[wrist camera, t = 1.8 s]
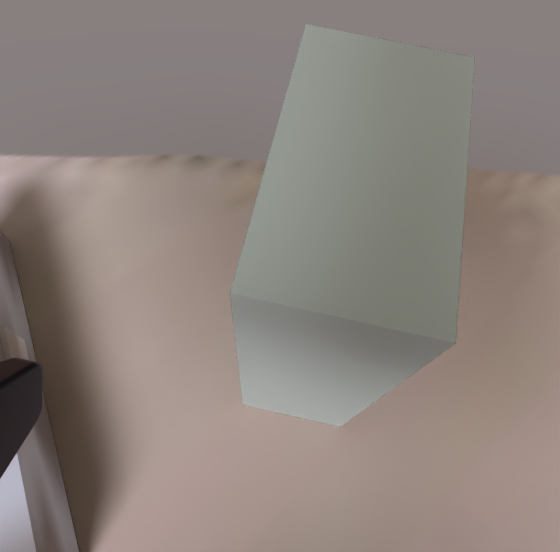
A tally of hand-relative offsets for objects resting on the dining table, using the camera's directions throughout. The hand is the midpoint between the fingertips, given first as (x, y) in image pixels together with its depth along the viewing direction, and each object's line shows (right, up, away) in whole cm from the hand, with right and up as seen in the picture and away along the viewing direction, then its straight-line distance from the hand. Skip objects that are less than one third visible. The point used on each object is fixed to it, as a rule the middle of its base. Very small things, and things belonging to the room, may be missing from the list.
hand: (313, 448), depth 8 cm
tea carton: (+1, 0, +13) cm, 13 cm away
